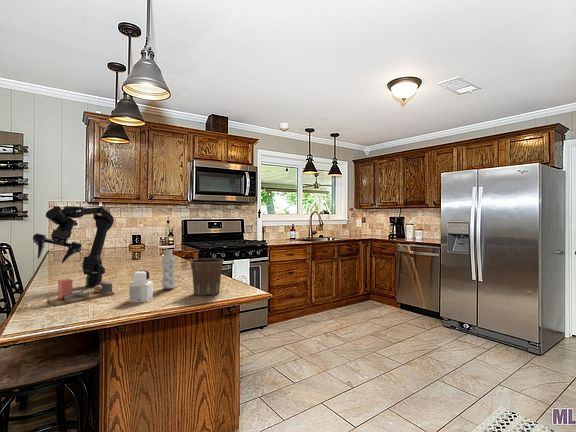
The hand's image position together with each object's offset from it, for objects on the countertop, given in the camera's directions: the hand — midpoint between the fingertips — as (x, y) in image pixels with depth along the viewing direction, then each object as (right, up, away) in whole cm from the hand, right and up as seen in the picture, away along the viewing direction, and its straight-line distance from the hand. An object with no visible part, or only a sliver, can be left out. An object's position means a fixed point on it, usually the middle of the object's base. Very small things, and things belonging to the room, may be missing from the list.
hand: (50, 260), depth 149 cm
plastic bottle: (+44, -18, +23) cm, 53 cm away
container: (+40, -18, +2) cm, 44 cm away
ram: (+9, -16, 0) cm, 19 cm away
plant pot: (+66, -18, +16) cm, 70 cm away
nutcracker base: (+12, -18, +4) cm, 22 cm away
